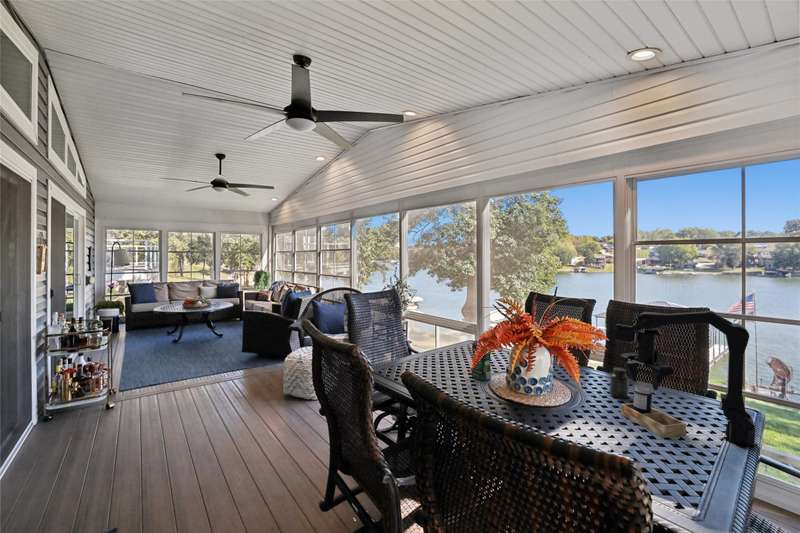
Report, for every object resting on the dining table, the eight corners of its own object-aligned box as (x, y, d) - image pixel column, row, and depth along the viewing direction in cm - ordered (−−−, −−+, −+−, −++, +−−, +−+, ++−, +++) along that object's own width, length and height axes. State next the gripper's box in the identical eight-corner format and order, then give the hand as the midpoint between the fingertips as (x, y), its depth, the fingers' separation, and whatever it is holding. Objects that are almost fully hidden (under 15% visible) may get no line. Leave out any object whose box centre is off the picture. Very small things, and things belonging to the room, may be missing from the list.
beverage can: (653, 422, 137) (654, 391, 136) (636, 421, 138) (637, 390, 138) (646, 416, 142) (647, 386, 142) (630, 414, 144) (631, 384, 143)
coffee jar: (468, 376, 186) (469, 340, 185) (480, 373, 190) (480, 338, 189) (481, 382, 177) (482, 344, 176) (493, 379, 181) (494, 342, 180)
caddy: (686, 434, 128) (687, 423, 128) (662, 437, 126) (663, 426, 126) (641, 412, 146) (642, 402, 146) (620, 414, 144) (620, 404, 144)
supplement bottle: (608, 391, 167) (609, 365, 166) (625, 393, 164) (626, 367, 164) (611, 397, 160) (612, 370, 160) (629, 399, 158) (630, 372, 157)
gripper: (687, 350, 132) (685, 393, 133) (642, 338, 150) (641, 375, 151) (661, 352, 129) (660, 395, 130) (619, 339, 148) (618, 377, 148)
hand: (644, 385), depth 140 cm, fingers open, 9 cm apart
